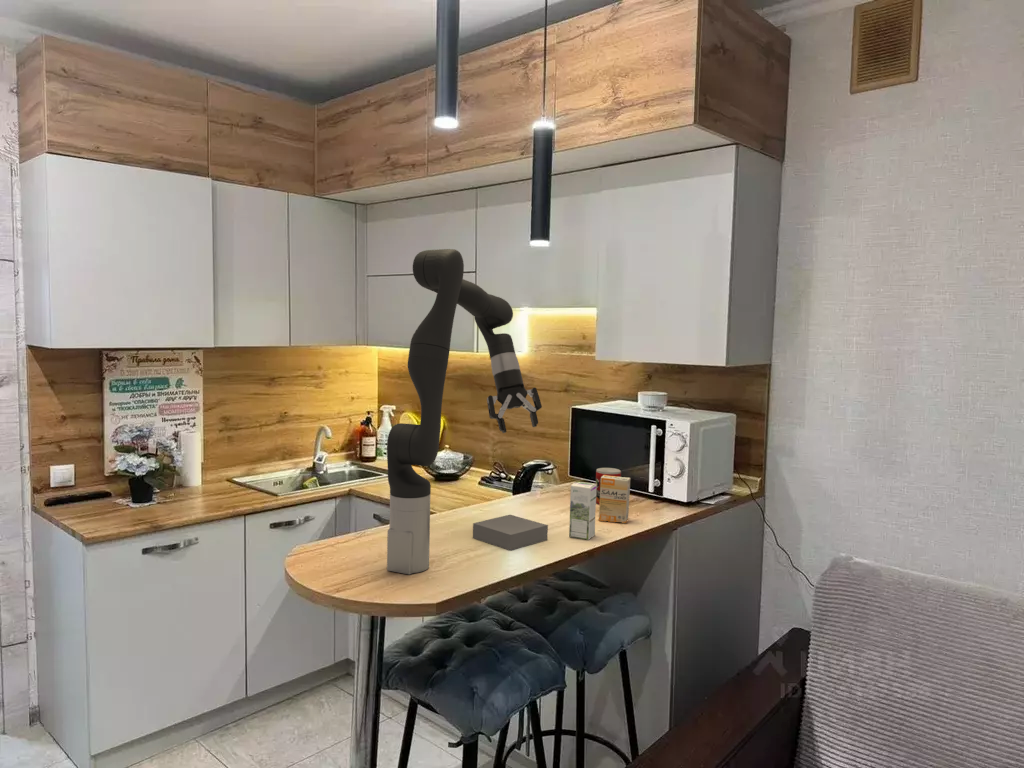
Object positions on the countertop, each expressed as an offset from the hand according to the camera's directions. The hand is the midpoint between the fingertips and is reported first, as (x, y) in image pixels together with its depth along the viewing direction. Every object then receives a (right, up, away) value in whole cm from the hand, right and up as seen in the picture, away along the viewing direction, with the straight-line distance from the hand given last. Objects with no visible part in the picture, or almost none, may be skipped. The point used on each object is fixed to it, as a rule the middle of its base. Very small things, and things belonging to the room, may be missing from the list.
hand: (519, 429), depth 191 cm
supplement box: (+28, -28, +19) cm, 44 cm away
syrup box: (+17, -29, +2) cm, 34 cm away
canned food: (+29, -27, +41) cm, 57 cm away
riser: (-3, -29, -2) cm, 29 cm away
